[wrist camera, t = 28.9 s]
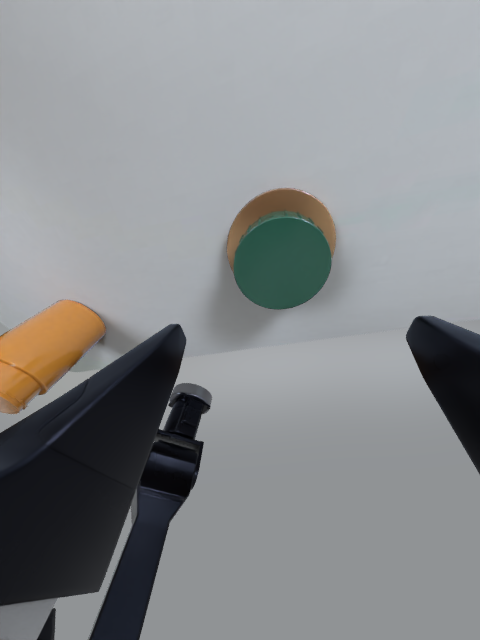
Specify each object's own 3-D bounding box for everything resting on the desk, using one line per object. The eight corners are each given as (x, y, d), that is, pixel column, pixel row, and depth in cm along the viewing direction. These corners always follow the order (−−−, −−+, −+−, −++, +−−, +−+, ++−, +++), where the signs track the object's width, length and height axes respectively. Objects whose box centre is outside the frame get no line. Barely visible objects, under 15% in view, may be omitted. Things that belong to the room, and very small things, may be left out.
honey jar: (102, 345, 25) (27, 422, 17) (54, 322, 24) (-53, 397, 16) (109, 318, 22) (20, 399, 14) (53, 289, 20) (-82, 363, 12)
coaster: (279, 309, 18) (279, 312, 18) (209, 256, 16) (208, 259, 15) (357, 242, 14) (360, 244, 13) (276, 155, 11) (277, 154, 11)
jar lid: (330, 202, 12) (341, 208, 10) (319, 292, 16) (325, 308, 14) (230, 216, 13) (224, 223, 11) (242, 297, 17) (239, 311, 15)
